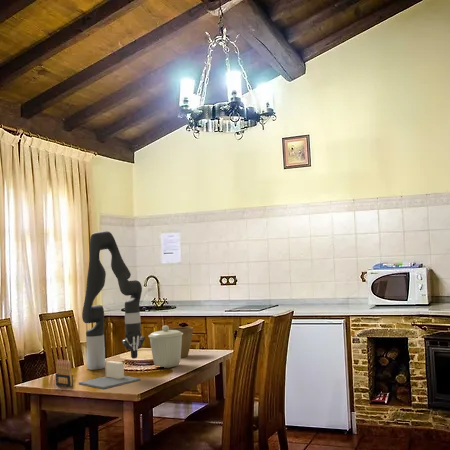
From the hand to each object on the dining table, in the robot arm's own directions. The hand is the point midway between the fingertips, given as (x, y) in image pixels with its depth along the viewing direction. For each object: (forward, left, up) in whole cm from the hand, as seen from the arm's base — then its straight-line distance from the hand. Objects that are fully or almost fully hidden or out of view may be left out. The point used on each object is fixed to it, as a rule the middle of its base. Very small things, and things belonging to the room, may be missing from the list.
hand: (134, 358), depth 265 cm
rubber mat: (0, -15, -8) cm, 17 cm away
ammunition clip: (-14, -30, -9) cm, 34 cm away
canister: (-5, +24, -9) cm, 26 cm away
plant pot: (-21, +48, -9) cm, 53 cm away
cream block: (+1, -9, -4) cm, 10 cm away
